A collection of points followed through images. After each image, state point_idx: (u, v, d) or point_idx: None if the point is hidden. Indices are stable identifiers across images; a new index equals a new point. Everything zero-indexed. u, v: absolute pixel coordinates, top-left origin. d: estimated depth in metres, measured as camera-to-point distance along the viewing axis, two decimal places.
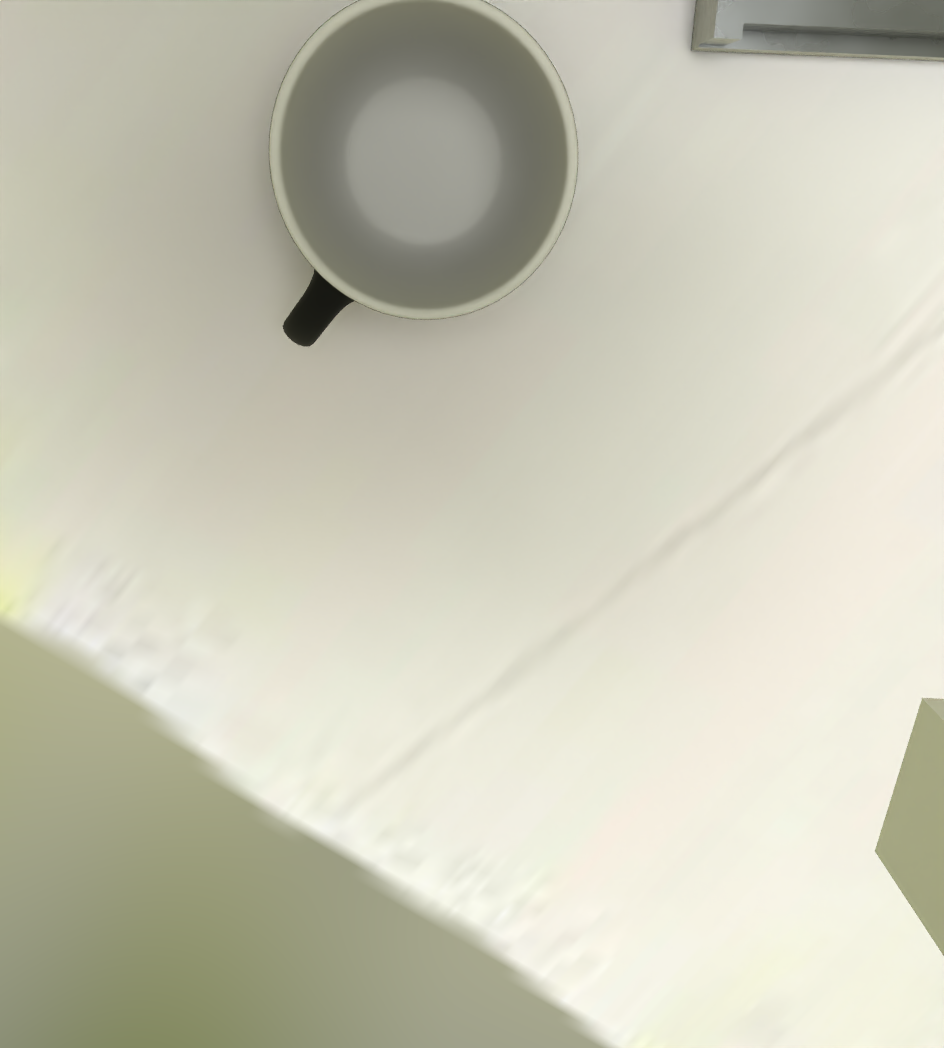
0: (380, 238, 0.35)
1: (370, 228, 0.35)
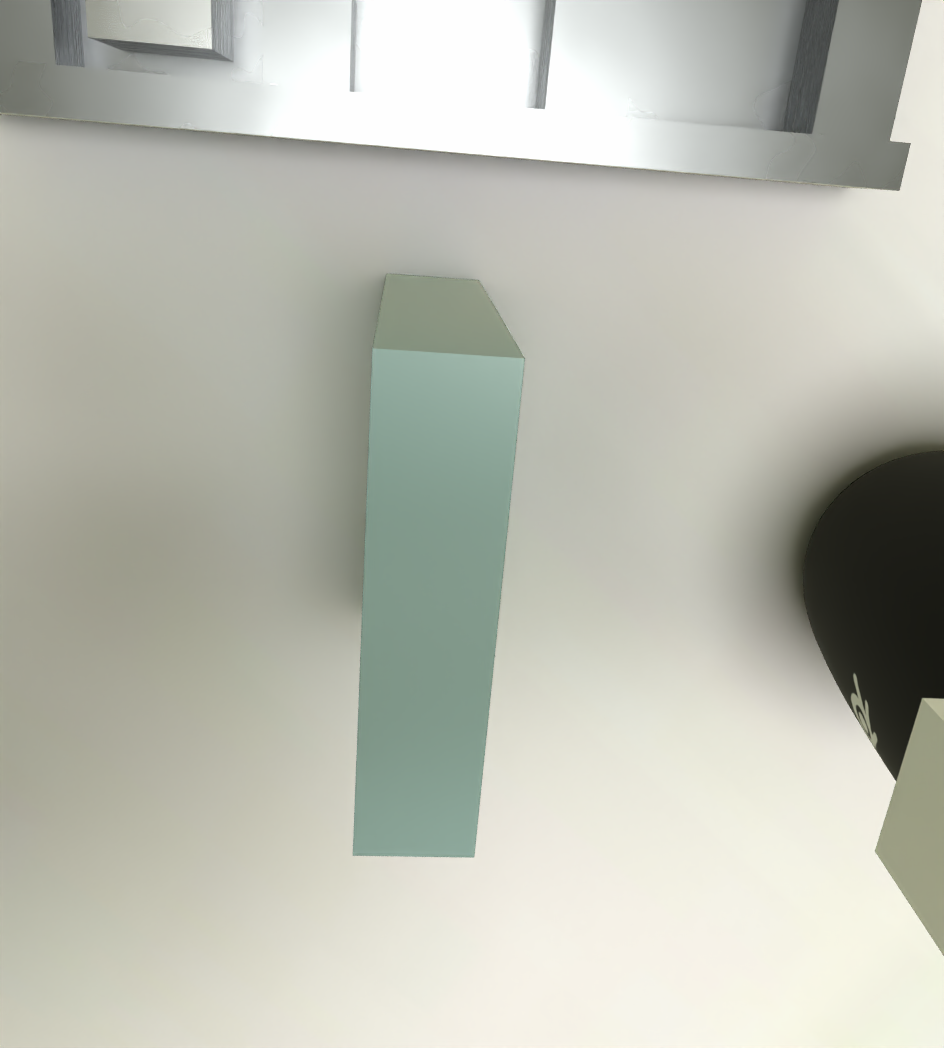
0: None
1: None
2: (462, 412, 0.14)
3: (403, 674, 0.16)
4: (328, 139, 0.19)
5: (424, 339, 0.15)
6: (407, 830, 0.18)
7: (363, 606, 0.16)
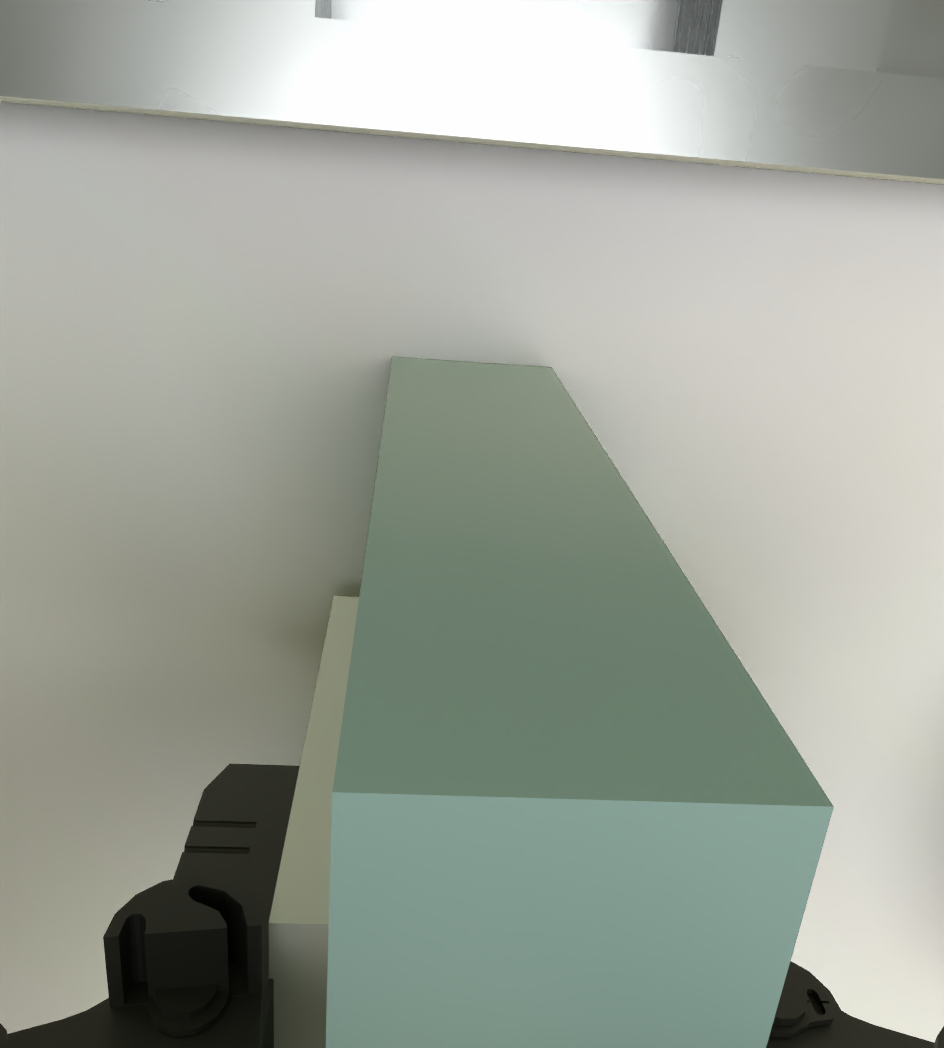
0: None
1: None
2: (618, 949, 0.05)
3: None
4: (274, 116, 0.10)
5: (493, 677, 0.05)
6: None
7: None
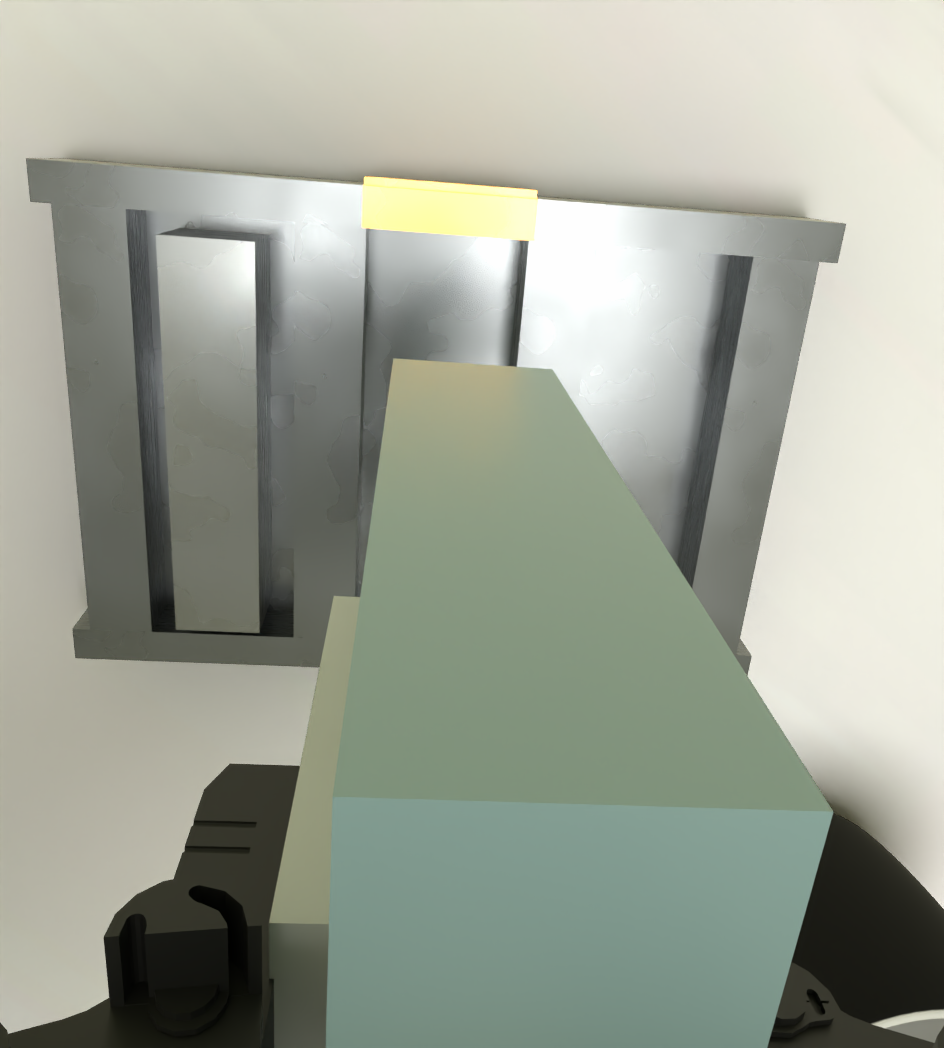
0: None
1: None
2: (618, 954, 0.05)
3: None
4: None
5: (493, 681, 0.05)
6: None
7: None
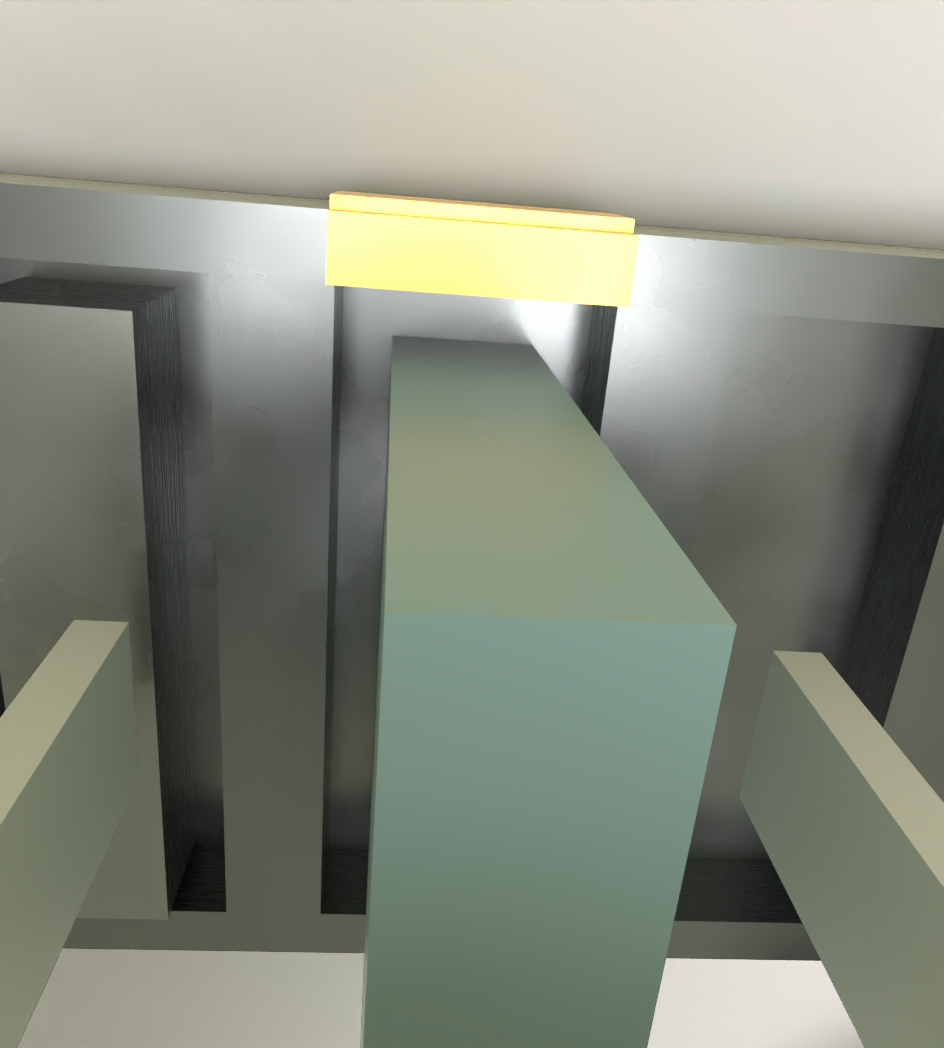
0: None
1: None
2: (587, 737, 0.06)
3: None
4: (298, 949, 0.18)
5: (493, 553, 0.07)
6: None
7: None
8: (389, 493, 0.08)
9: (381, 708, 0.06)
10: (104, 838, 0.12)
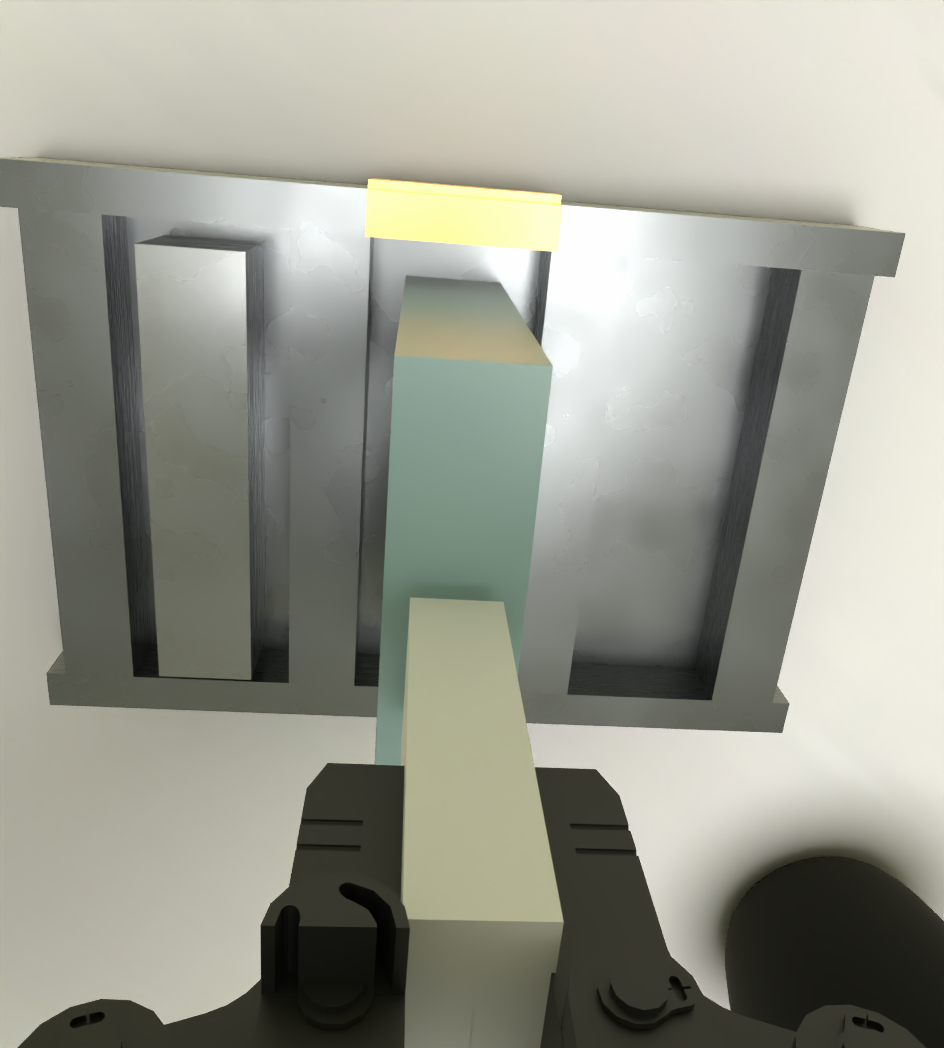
0: None
1: None
2: (487, 421, 0.14)
3: None
4: (338, 714, 0.25)
5: (447, 345, 0.14)
6: None
7: (382, 622, 0.15)
8: (399, 328, 0.16)
9: (392, 403, 0.14)
10: None
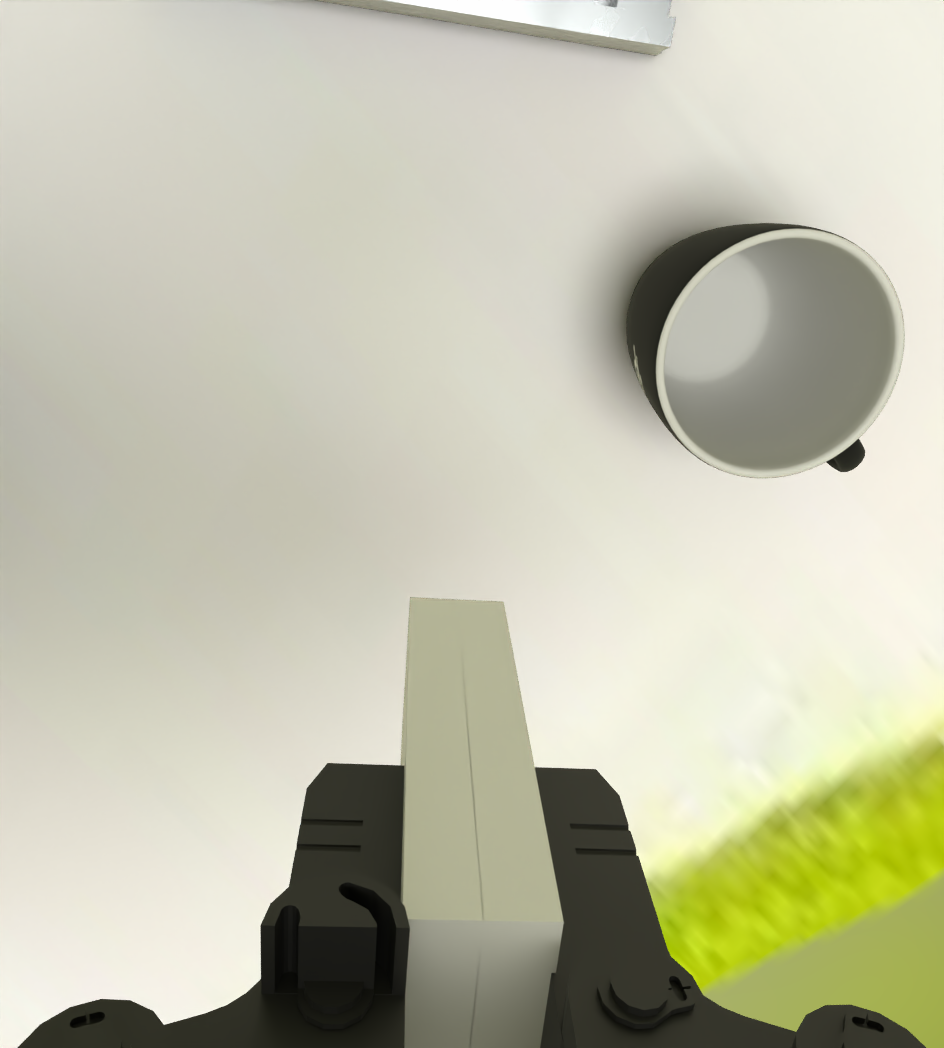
0: (756, 362, 0.41)
1: (746, 370, 0.41)
2: None
3: None
4: None
5: None
6: None
7: None
8: None
9: None
10: None
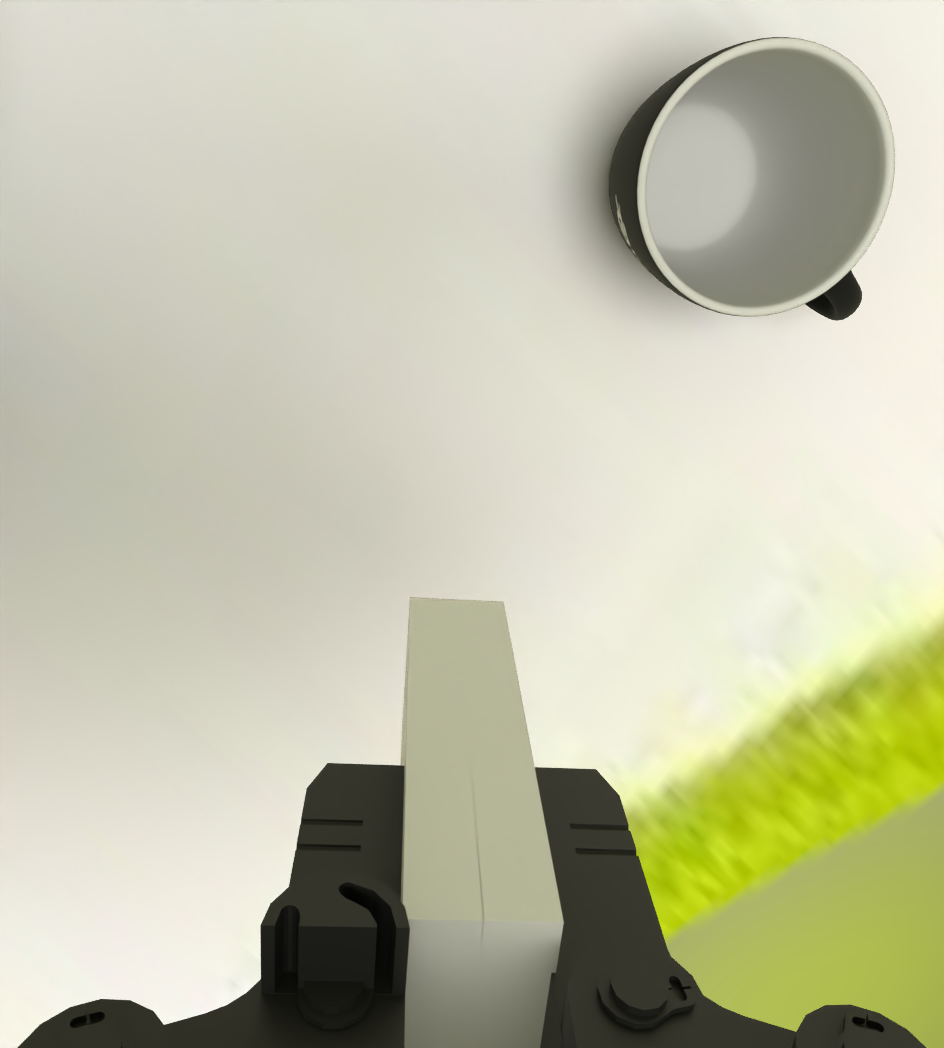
0: (746, 224, 0.40)
1: (736, 233, 0.40)
2: None
3: None
4: None
5: None
6: None
7: None
8: None
9: None
10: None
